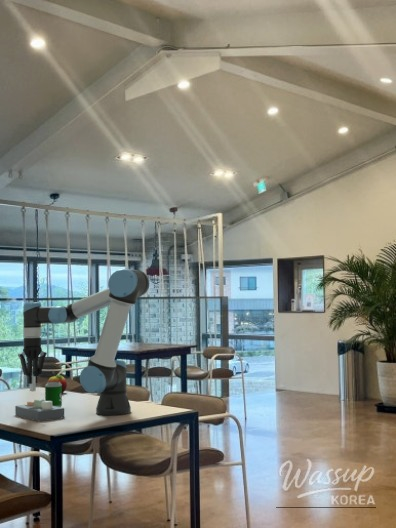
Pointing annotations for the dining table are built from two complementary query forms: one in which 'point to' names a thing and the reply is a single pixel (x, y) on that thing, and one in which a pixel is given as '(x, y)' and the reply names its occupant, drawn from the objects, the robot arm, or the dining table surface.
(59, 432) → the dining table surface
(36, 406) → the pale green egg
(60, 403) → the soda can
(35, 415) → the grey egg holder
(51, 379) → the fruit
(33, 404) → the brown egg
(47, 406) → the white egg
